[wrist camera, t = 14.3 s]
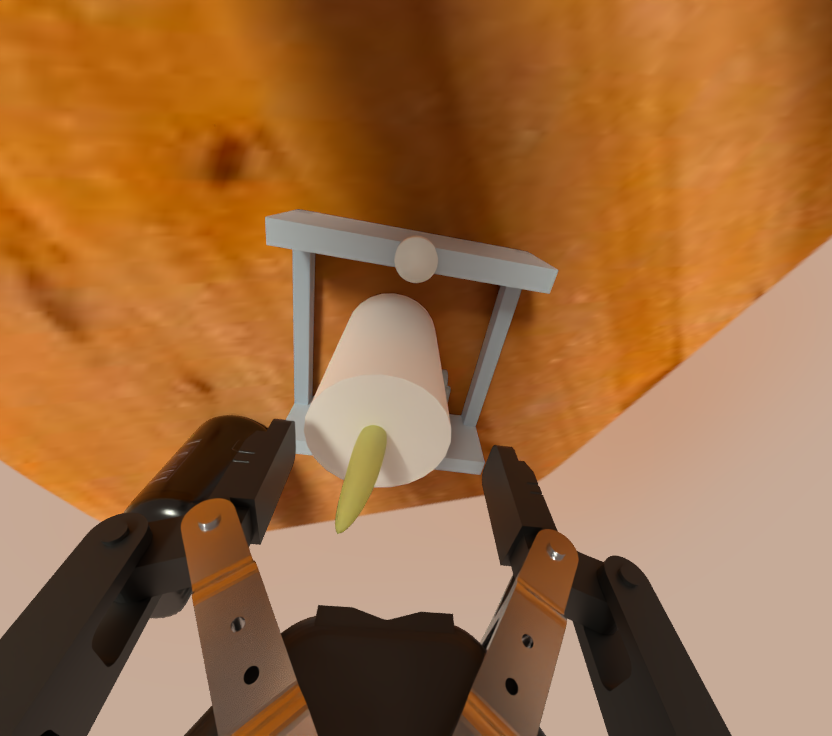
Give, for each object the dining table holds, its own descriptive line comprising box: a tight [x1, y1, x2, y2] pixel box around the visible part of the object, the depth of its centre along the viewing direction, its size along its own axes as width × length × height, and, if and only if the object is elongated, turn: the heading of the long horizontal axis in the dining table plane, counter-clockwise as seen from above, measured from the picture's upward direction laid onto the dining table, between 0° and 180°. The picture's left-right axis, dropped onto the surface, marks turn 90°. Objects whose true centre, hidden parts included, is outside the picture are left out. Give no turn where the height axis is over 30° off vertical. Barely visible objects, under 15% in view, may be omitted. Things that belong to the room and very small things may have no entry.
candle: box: [304, 293, 451, 534], centre depth 17 cm, size 6×6×15 cm
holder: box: [265, 209, 558, 475], centre depth 21 cm, size 15×14×6 cm
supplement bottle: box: [124, 415, 267, 618], centre depth 23 cm, size 7×7×12 cm
